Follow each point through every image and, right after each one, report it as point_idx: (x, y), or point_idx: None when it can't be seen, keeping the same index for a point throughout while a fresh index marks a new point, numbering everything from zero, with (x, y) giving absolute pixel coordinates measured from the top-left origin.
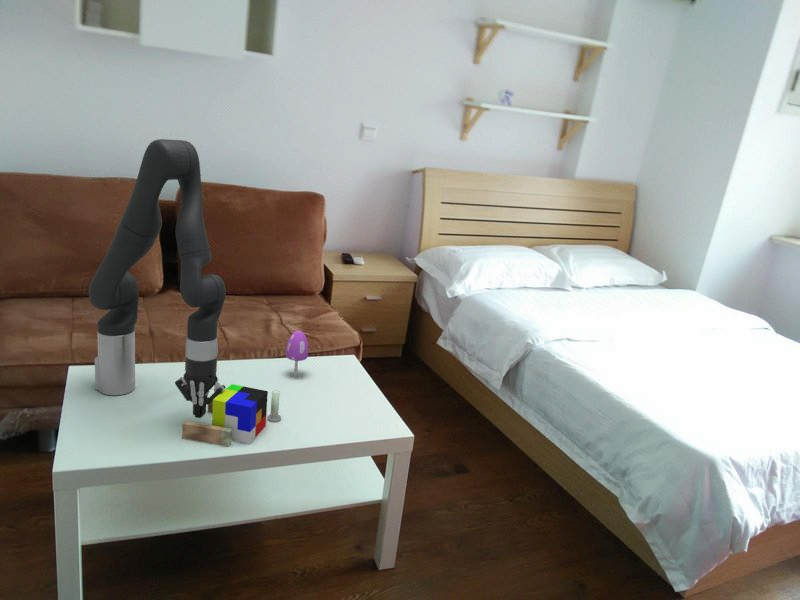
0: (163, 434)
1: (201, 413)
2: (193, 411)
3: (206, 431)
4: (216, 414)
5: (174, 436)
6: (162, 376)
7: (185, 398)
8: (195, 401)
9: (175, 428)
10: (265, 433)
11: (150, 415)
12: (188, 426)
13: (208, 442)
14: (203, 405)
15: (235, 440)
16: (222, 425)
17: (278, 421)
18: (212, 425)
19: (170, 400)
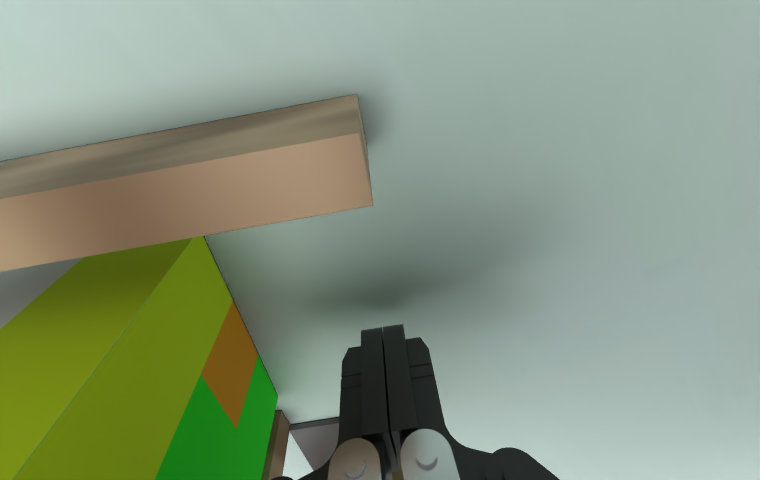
0: (532, 73)
1: (357, 367)
2: (425, 361)
3: (72, 172)
4: (15, 408)
5: (432, 90)
6: (710, 468)
7: (545, 473)
8: (418, 472)
9: (486, 196)
10: None
11: (705, 248)
12: (278, 139)
13: (126, 139)
14: (339, 448)
15: None
16: (34, 314)
17: None
18: (151, 286)
19: (631, 387)
